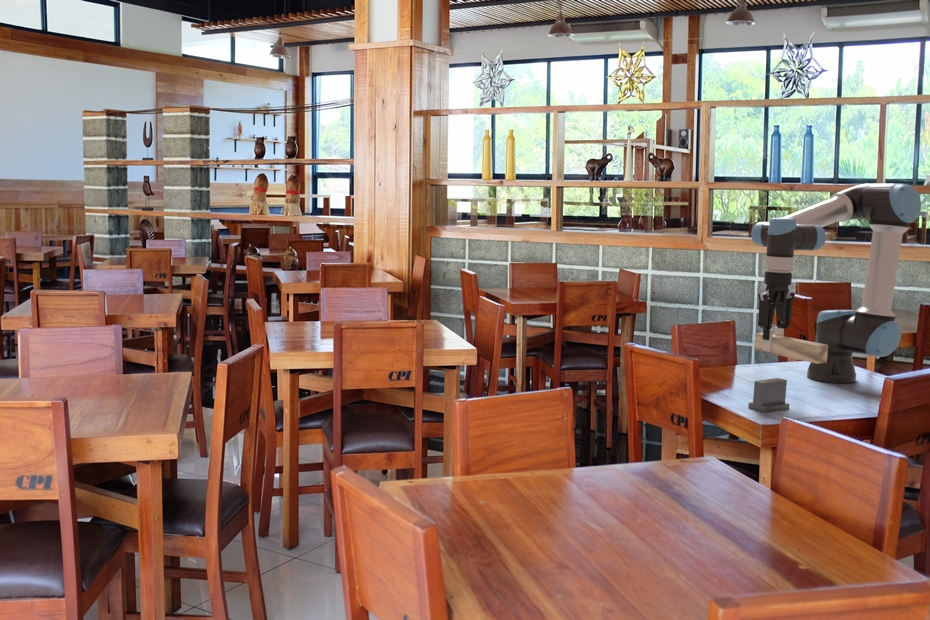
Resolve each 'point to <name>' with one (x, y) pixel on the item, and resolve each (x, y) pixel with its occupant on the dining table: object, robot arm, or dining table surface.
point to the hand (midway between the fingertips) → (772, 350)
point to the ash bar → (794, 348)
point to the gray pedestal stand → (769, 395)
